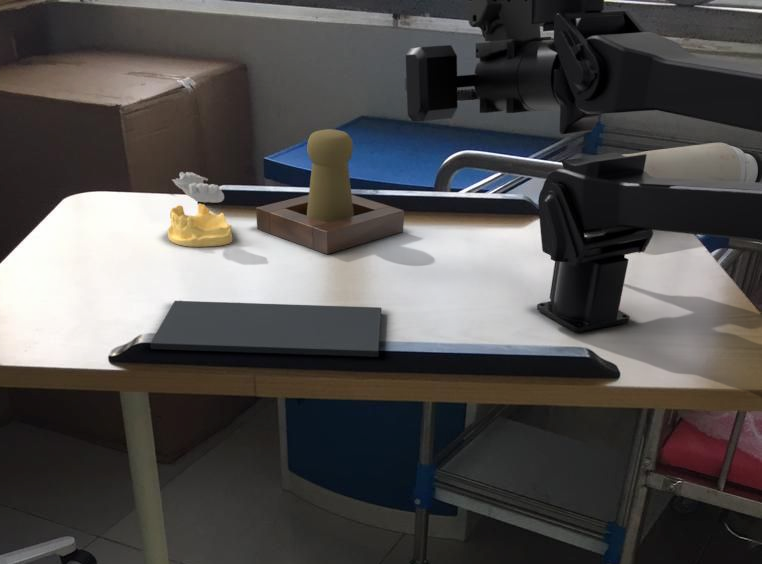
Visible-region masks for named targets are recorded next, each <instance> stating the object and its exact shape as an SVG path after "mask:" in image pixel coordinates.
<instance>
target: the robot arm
mask: <svg viewBox="0 0 762 564" xmlns="http://www.w3.org/2000/svg"><path fill="white" fill-rule="evenodd" d="M464 5H465V10H466V15H467V20H468V24H469V26H470V27H471V28H478V29H480V30H481V31H480V32H481V34H482V37H483V39H484V41H477V42H475V58H476V59H479V60H478V61H477V63H476V65H475V69H474V73H471V74H461V75H460V74H459V75H458V55H457V53H456V51H455V49H454V47H453V45H451V44H450V45H449V44H446V45H431V46H417V47H410V48H409V49H408V51H407V52H406V54H405V79H404V87H405V91H406V104H407V105H406V107H407V109H406V110H407V116H408V118H410V120H411V121H412V122H430V121H439V120H447V119H448V120H449V119H453V117H454V115H455V114H456V112H457V109H458V103H463V102H473V101H479V113H480V114H488V113H497V112H505V113H506V114H517V113H525V112H559V133H560V135H562V136H566V135H575V134H583V133H591V132H592V131H593V130H594V128H595V126H596V124H597V122H598V118H599V117H600V116H601V115H602V114H619V113H629V112H630V113H631V112H647V111H658V112H662V113H668V114H673V115H677V116H683V117H687V118H692V119H697V120H701V121H707V122H711V123H715V124H720V125H725V126H730V127H734V128H739V129H744V130H749V131H754V132H758V133H762V65H758V64H757V65H755V64H751V63H743V62H735V61H729V60H723V59H716V58H709V57H702V56H698V55H695V54H693V53H690V52H688V51H687V50H686V49H684V47H683V46H682V45H681V44H680V43H679V42H676V41H674V40H673V39H669V38H667V37H665V36H662V35H661V34H658V33H656V32H652V31H646V30H645V29H644V27H643V26H642V25H641V24H640V23H639V21H637V19H636V18H635V17H634V16H633V15H632V13H631V12H630V11H629V10H628V9H615V10H614V9H613V10H612V9H611V10H605V9H604V8H605V0H464ZM541 24H542V32H553V37H552V36H542V34H541ZM470 87H471V88H470ZM472 87H474V88H472ZM459 88H460V89H461V88H467V89H461V90H460V89H459ZM468 88H469V89H468ZM622 154H623V153H621V152H618V151H617V152H611V153H604V154H595V155H589V156H582V157H576V158H575V157H574V158H569V159H563V160H562V161H561V164H562V165H561V166H562V167H559V168H554V169H552V170H551V171H549V172H548V173H547V176H546V179H545V180H544V182H543V185H542V188H541V190H540V192H539V195H538V201H537V203H538V219H539V228H540V240H541V250H542V252H543V253H544V254H546V255H549V257H550V261H554V265H553V272H552V280H551V286H550V291H549V292H550V293H549V301H545V302H540V303H538V304H536V310H537V311H539V312H541V313H543V314H544V315H545V316H547V317H548V318H550V319H553V320H554V321H555V322H557V323H560V324H561V325H563V326H564V327H566V328H568V329H569V330H571V331H573V332H577V333H580V332H586V331H590V330H594V329H600V328H605V327H610V326H615V325H619V324H624V323H629V322H630V318H631V316H630V315H629V314H627V313H625V312H623V311H621V310H620V306H621V300H622V296H623V292H624V291H623V290H624V285H625V279H626V276H627V270H628V265H629V258H627V257H625V256H626V255H631V254H636V253H638V254H640V253H644V252H645V251H646V249H647V248H648V245H649V243H650V241H651V240H652V237H653V236H654V231H659V232H669V233H679V234H688V235H696V236H705V237H706V236H707V237H716V238H725V239H735V240H745V241H752V242H753V241H754V242H759V243H762V182H759V183H756V182H735V181H713V180H692V179H670V178H655V177H652V176H650V175H649V174H648V173H647V172H645V171H644V167H645V162H646V156H647V155H646V154H642V155H635V156H628V157H626V156H623V155H622ZM598 231H604V232H602V233H597V234H592V235H586V236H585V234H586V233H592V232H593V233H594V232H598Z"/></svg>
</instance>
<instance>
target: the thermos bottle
mask: <svg viewBox="0 0 762 564" xmlns="http://www.w3.org/2000/svg"><path fill="white" fill-rule="evenodd" d="M621 154H622V155H623V156H626V157H628V156H635V155H642V154H646V155H647V156H646V162H645V167H644V171H645V172H647V173H648V174H649V175H650V176H652V177H655V178H670V179H692V180H713V181H735V182H756V183H761V180H762V158H761V156H760V155H759V153H757V152H755V151H753V150H745V151H743V150H742V149H740V148H738V147H735V146H733V145H729V144H728V143H724V142H711V143H703V144H702V143H701V144H693V145H686V146H685V145H684V146H677V147H669V148H662V149H653V150H647V151H640V152H634V153H624V154H623V153H621Z"/></svg>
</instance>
